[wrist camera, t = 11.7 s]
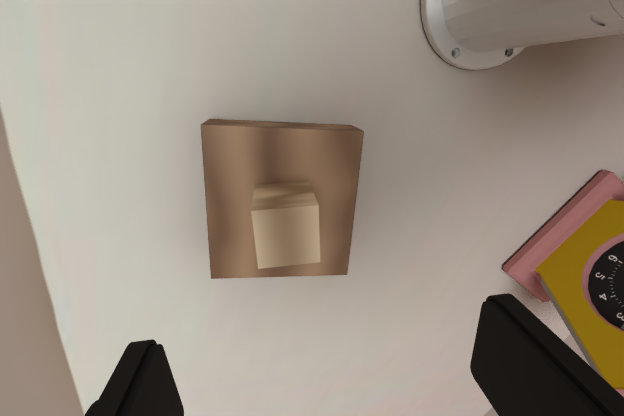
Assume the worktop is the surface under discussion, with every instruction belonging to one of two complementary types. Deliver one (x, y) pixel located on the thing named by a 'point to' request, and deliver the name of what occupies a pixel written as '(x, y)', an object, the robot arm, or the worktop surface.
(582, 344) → the pink and yellow block
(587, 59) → the worktop surface
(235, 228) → the brown wooden flat block
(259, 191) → the maple block
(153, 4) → the worktop surface
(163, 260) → the worktop surface
